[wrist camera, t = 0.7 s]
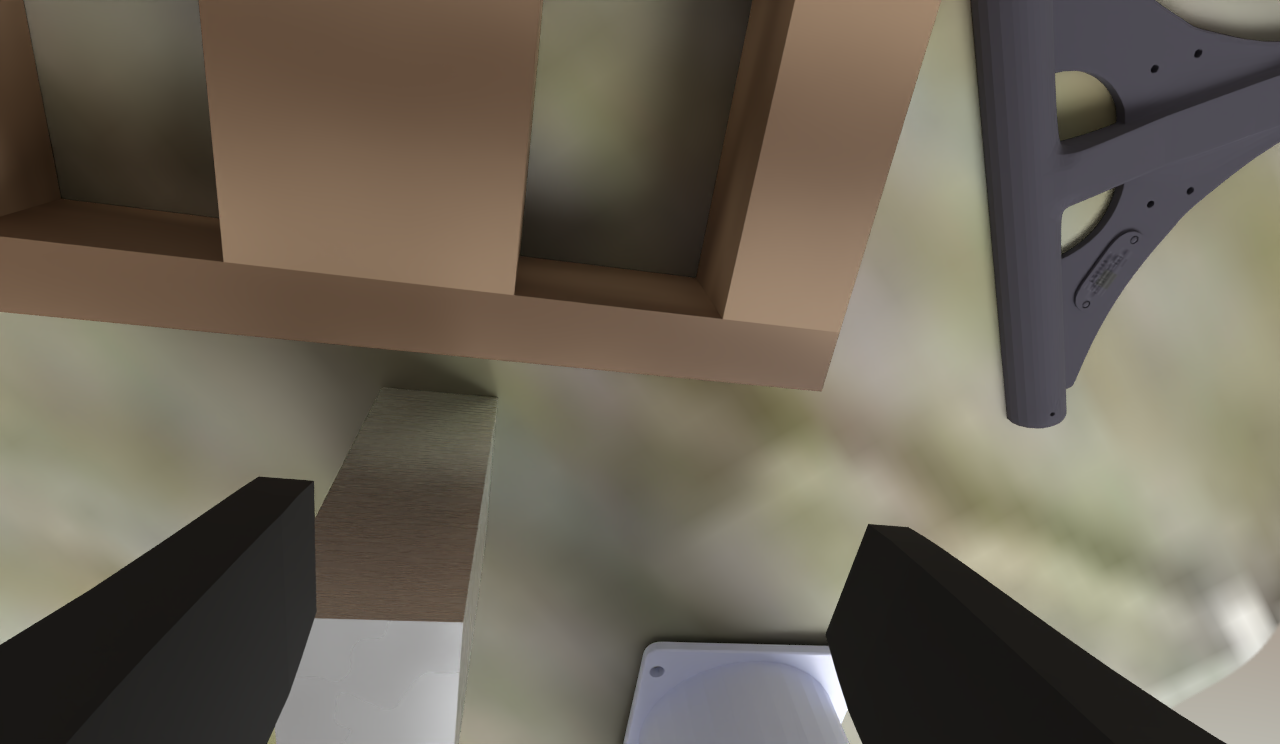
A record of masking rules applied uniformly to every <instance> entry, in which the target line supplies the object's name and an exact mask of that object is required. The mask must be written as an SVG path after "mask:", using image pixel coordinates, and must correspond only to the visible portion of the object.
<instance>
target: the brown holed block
mask: <svg viewBox="0 0 1280 744" xmlns="http://www.w3.org/2000/svg"><path fill="white" fill-rule="evenodd" d="M198 1H199V11H200V21H201V32H202V42H203V52H204V63H205V73H206V84H207V94H208V104H209V115H210V125H211V135H212V146H213V156H214V167H215V177H216V187H217V198H218V208H219V218H212V217H204V216H196V215H188V214H180V213H172V212H164V211H156V210H148V209H140V208H132V207H124V206H116V205H108V204H100V203H92V202H84V201H76V200H68V199H61V195H60V190H59V185H58V180H57V174H56V169H55V164H54V159H53V153H52V148H51V143H50V138H49V132H48V127H47V122H46V117H45V112H44V106H43V101H42V96H41V91H40V85H39V80H38V75H37V70H36V64H35V59H34V54H33V49H32V44H31V38H30V33H29V28H28V23H27V17H26V12H25V7H24V2H23V0H0V312H8V313H18V314H29V315H39V316H49V317H60V318H70V319H80V320H90V321H101V322H111V323H121V324H132V325H142V326H152V327H163V328H173V329H183V330H193V331H204V332H214V333H224V334H235V335H245V336H255V337H266V338H276V339H286V340H296V341H307V342H317V343H327V344H338V345H348V346H358V347H369V348H379V349H389V350H399V351H410V352H420V353H430V354H441V355H451V356H461V357H472V358H482V359H492V360H502V361H513V362H523V363H533V364H544V365H554V366H564V367H575V368H585V369H595V370H605V371H616V372H626V373H636V374H647V375H657V376H667V377H678V378H688V379H698V380H708V381H719V382H729V383H739V384H750V385H760V386H770V387H781V388H791V389H801V390H812V391H822V388H823V385H824V382H825V378H826V375H827V372H828V369H829V365H830V362H831V359H832V356H833V352H834V349H835V346H836V342H837V339H838V336H839V333H840V329H841V326H842V323H843V320H844V316H845V313H846V310H847V306H848V303H849V300H850V297H851V293H852V290H853V287H854V284H855V280H856V277H857V274H858V271H859V267H860V264H861V261H862V257H863V254H864V251H865V248H866V244H867V241H868V238H869V235H870V231H871V228H872V225H873V221H874V218H875V215H876V212H877V208H878V205H879V202H880V199H881V195H882V192H883V189H884V186H885V182H886V179H887V176H888V172H889V169H890V166H891V163H892V159H893V156H894V153H895V150H896V146H897V143H898V140H899V136H900V133H901V130H902V127H903V123H904V120H905V117H906V114H907V110H908V107H909V104H910V101H911V97H912V94H913V91H914V87H915V84H916V81H917V78H918V74H919V71H920V68H921V65H922V61H923V58H924V55H925V52H926V48H927V45H928V42H929V38H930V35H931V32H932V29H933V25H934V22H935V19H936V16H937V12H938V9H939V6H940V2H941V0H753V1H752V6H751V11H750V15H749V20H748V25H747V30H746V35H745V40H744V45H743V50H742V55H741V60H740V65H739V69H738V74H737V79H736V84H735V89H734V94H733V99H732V104H731V109H730V114H729V118H728V123H727V128H726V133H725V138H724V143H723V148H722V153H721V158H720V163H719V168H718V172H717V177H716V182H715V187H714V192H713V197H712V202H711V207H710V212H709V217H708V222H707V226H706V231H705V236H704V241H703V246H702V251H701V256H700V261H699V266H698V271H697V276H696V278H693V277H685V276H677V275H669V274H661V273H653V272H645V271H637V270H629V269H621V268H613V267H605V266H597V265H589V264H581V263H573V262H565V261H557V260H549V259H541V258H533V257H525V256H520V251H521V240H522V229H523V218H524V207H525V196H526V185H527V174H528V163H529V152H530V141H531V129H532V118H533V107H534V96H535V85H536V74H537V63H538V52H539V41H540V30H541V19H542V8H543V0H198Z"/></svg>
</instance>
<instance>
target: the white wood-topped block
mask: <svg viewBox="0 0 1280 744" xmlns="http://www.w3.org/2000/svg"><path fill="white" fill-rule="evenodd" d="M497 402H498V397H487V396H476V395H464V394H453V393H441V392H430V391H418V390H407V389H395V388H384V387H382V388H381V390H380V392H379V394H378V396H377V398H376V400H375V402H374V404H373V406H372V408H371V410H370V412H369V414H368V416H367V418H366V420H365V422H364V424H363V426H362V427H361V429H360V431H359V433H358V435H357V437H356V439H355V441H354V443H353V445H352V447H351V449H350V451H349V453H348V455H347V457H346V459H345V461H344V463H343V465H342V467H341V469H340V471H339V473H338V475H337V477H336V479H335V481H334V482H333V484H332V486H331V488H330V490H329V492H328V494H327V496H326V498H325V500H324V502H323V504H322V506H321V508H320V510H319V512H318V514H317V516H316V518H315V560H316V607H317V612H316V615H315V618H314V622H313V625H312V628H311V631H310V634H309V637H308V640H307V643H306V646H305V650H304V653H303V656H302V659H301V662H300V665H299V668H298V670H297V673H296V676H295V679H294V682H293V685H292V688H291V691H290V694H289V696H288V698H287V701H286V703H285V705H284V707H283V709H282V712H281V714H280V716H279V718H278V720H277V723H276V725H275V733H276V744H459V739H460V732H461V724H462V717H463V709H464V702H465V694H466V687H467V679H468V672H469V664H470V657H471V650H472V642H473V635H474V627H475V620H476V612H477V605H478V597H479V590H480V582H481V575H482V567H483V560H484V552H485V545H486V533H487V521H488V509H489V497H490V485H491V474H492V462H493V450H494V438H495V426H496V414H497Z"/></svg>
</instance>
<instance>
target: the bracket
mask: <svg viewBox="0 0 1280 744" xmlns="http://www.w3.org/2000/svg"><path fill="white" fill-rule="evenodd" d="M971 8H972V19H973V31H974V43H975V54H976V66H977V77H978V89H979V100H980V112H981V124H982V135H983V147H984V158H985V170H986V181H987V193H988V204H989V216H990V228H991V239H992V251H993V262H994V274H995V285H996V297H997V309H998V320H999V332H1000V343H1001V355H1002V366H1003V377H1004V388H1005V399H1006V410H1007V419H1009V420H1010V421H1011V422H1012V423H1014V424H1016V425H1019V426H1023V427H1027V428H1046V427H1051V426H1054V425H1056V424H1058V423H1060V422H1061V421H1062V420H1063V419H1064V418H1065V416H1066V389H1067V388H1070V387H1071V386H1072V385H1073V384H1074V382H1075V380H1076V377H1077V375H1078V373H1079V371H1080V368H1081V366H1082V364H1083V361H1084V359H1085V357H1086V355H1087V353H1088V350H1089V348H1090V346H1091V344H1092V342H1093V340H1094V338H1095V336H1096V334H1097V332H1098V330H1099V328H1100V327H1101V325H1102V323H1103V321H1104V320H1105V318H1106V316H1107V314H1108V313H1109V311H1110V309H1111V308H1112V306H1113V305H1114V303H1115V301H1116V300H1117V298H1118V297H1119V295H1120V294H1121V292H1122V291H1123V289H1124V288H1125V286H1126V285H1127V284H1128V282H1129V281H1130V279H1131V278H1132V277H1133V275H1134V274H1135V273H1136V271H1137V270H1138V269H1139V267H1140V266H1141V265H1142V264H1143V262H1144V261H1145V260H1146V259H1147V257H1148V256H1149V255H1150V254H1151V253H1152V251H1153V250H1154V249H1155V248H1156V247H1157V245H1158V244H1159V243H1160V242H1161V241H1162V240H1163V239H1164V237H1165V236H1166V235H1167V234H1168V233H1169V232H1170V231H1171V230H1172V228H1173V227H1174V226H1175V225H1176V224H1177V222H1178V221H1179V220H1180V219H1181V218H1182V217H1183V216H1184V215H1185V214H1186V213H1187V212H1188V211H1189V210H1190V209H1191V208H1192V207H1193V206H1194V205H1196V204H1197V203H1198V202H1199V201H1200V200H1202V199H1203V198H1204V197H1205V196H1206V195H1208V194H1209V193H1210V192H1211V191H1213V190H1214V189H1215V188H1216V187H1218V186H1219V185H1220V184H1221V183H1223V182H1224V181H1225V180H1226V179H1228V178H1229V177H1230V176H1231V175H1233V174H1234V173H1235V172H1237V171H1238V170H1239V169H1241V168H1242V167H1243V166H1245V165H1246V164H1247V163H1249V162H1250V161H1252V160H1253V159H1254V158H1256V157H1257V156H1259V155H1260V154H1262V153H1263V152H1265V151H1266V150H1268V149H1269V148H1271V147H1273V146H1274V145H1276V144H1277V143H1279V142H1280V41H1257V40H1250V39H1242V38H1237V37H1233V36H1229V35H1225V34H1221V33H1216V32H1212V31H1208V30H1204V29H1201V28H1197V27H1194V26H1192V25H1190V24H1189V23H1187V22H1186V21H1184V20H1183V19H1182V18H1180V17H1178V16H1177V15H1175V14H1174V13H1172V12H1171V11H1169V10H1168V9H1166V8H1165V7H1163V6H1162V5H1161V4H1159V3H1158V2H1157V1H1155V0H971ZM1062 71H1081V72H1085V73H1087V74H1090V75H1092V76H1094V77H1095V78H1097V79H1098V80H1099V81H1100V82H1101V83H1103V84H1104V86H1105V87H1106V88H1107V90H1108V91H1109V93H1110V95H1111V97H1112V99H1113V101H1114V104H1115V106H1116V123H1115V124H1112V125H1110V126H1107V127H1104V128H1101V129H1099V130H1096V131H1093V132H1090V133H1087V134H1084V135H1081V136H1077V137H1074V138H1070V139H1067V140H1063V141H1060V139H1059V133H1058V123H1057V109H1056V88H1055V73H1057V72H1062ZM1114 187H1116V188H1115V191H1114V194H1113V197H1112V200H1111V202H1110V204H1109V207H1108V209H1107V211H1106V212H1105V214H1104V216H1103V217H1102V219H1101V221H1100V222H1099V223H1098V225H1097V226H1096V227H1095V228H1094V230H1093V231H1092V232H1091V233H1090V234H1089V235H1088V236H1087V237H1086V238H1085V239H1084V240H1082V241H1081V242H1080V243H1079V244H1077V245H1076V246H1075V247H1073V248H1071V249H1070V250H1068V251H1067V252H1065V253H1064V254H1062V255H1061V219H1062V214H1063V211H1064V210H1065V209H1066V208H1068V207H1069V206H1071V205H1074V204H1076V203H1079V202H1081V201H1084V200H1086V199H1088V198H1091V197H1093V196H1096V195H1098V194H1100V193H1103V192H1105V191H1107V190H1110V189H1112V188H1114Z"/></svg>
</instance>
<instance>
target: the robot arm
mask: <svg viewBox="0 0 1280 744" xmlns="http://www.w3.org/2000/svg"><path fill="white" fill-rule="evenodd" d="M316 612H317V607H316V560H315V513H314V481H308V480H295V479H282V478H269V477H258V478H256V479H254V480H253V481H251V482H250V483H248V484H247V485H245V486H244V487H242V488H241V489H239V490H238V491H236V492H235V493H233V494H232V495H230V496H229V497H227V498H226V499H224V500H223V501H221V502H220V503H219V504H217V505H216V506H214V507H213V508H211V509H210V510H208V511H207V512H205V513H204V514H203V515H201V516H200V517H198V518H197V519H195V520H194V521H192V522H191V523H189V524H188V525H187V526H185V527H184V528H182V529H181V530H179V531H178V532H176V533H175V534H173V535H172V536H170V537H169V538H168V539H166V540H165V541H163V542H162V543H160V544H159V545H157V546H155V547H154V548H152V549H151V550H149V551H148V552H146V553H145V554H143V555H142V556H140V557H139V558H137V559H136V560H134V561H133V562H131V563H130V564H128V565H127V566H125V567H124V568H122V569H121V570H119V571H118V572H116V573H115V574H113V575H112V576H110V577H109V578H107V579H106V580H104V581H103V582H101V583H100V584H98V585H97V586H95V587H94V588H92V589H91V590H89V591H87V592H86V593H84V594H83V595H81V596H79V597H78V598H76V599H74V600H73V601H71V602H70V603H68V604H66V605H65V606H63V607H61V608H60V609H58V610H56V611H55V612H53V613H52V614H50V615H48V616H47V617H45V618H43V619H42V620H40V621H39V622H37V623H35V624H34V625H32V626H30V627H29V628H27V629H25V630H24V631H22V632H21V633H19V634H17V635H16V636H14V637H12V638H11V639H9V640H7V641H6V642H4V643H3V644H1V645H0V744H267V742H268V740H269V738H270V736H271V734H272V731H273V729H274V727H275V725H276V723H277V720H278V718H279V716H280V714H281V712H282V709H283V707H284V705H285V703H286V701H287V698H288V696H289V694H290V691H291V688H292V685H293V682H294V679H295V676H296V673H297V670H298V668H299V665H300V662H301V659H302V656H303V653H304V650H305V646H306V643H307V640H308V637H309V634H310V631H311V628H312V625H313V622H314V618H315V615H316ZM826 638H827V642H828V645H829V646H812V645H772V644H732V643H692V642H655V643H652V644H650V645H649V646H648V647H647V648H646V649H645V651H644V653H643V658H642V662H641V666H640V671H639V675H638V680H637V684H636V689H635V693H634V698H633V702H632V707H631V711H630V716H629V720H628V725H627V729H626V734H625V738H624V742H623V744H850V743H849V741H848V739H847V736H846V734H845V732H844V730H843V727H842V725H841V723H842V721H843V719H844V716H845V714H846V711H847V709H848V711H849V713H850V716H851V718H852V720H853V723H854V725H855V727H856V730H857V732H858V734H859V737H860V739H861V741H862V744H1226V743H1224V742H1223V741H1221V740H1219V739H1218V738H1216V737H1214V736H1213V735H1211V734H1210V733H1208V732H1207V731H1205V730H1203V729H1202V728H1200V727H1199V726H1197V725H1195V724H1194V723H1192V722H1191V721H1189V720H1188V719H1186V718H1184V717H1183V716H1181V715H1179V714H1178V713H1177V712H1175V711H1173V710H1172V709H1170V708H1169V707H1167V706H1166V705H1165V704H1163V703H1162V702H1160V701H1159V700H1157V699H1156V698H1154V697H1153V696H1151V695H1150V694H1148V693H1147V692H1145V691H1144V690H1142V689H1141V688H1139V687H1138V686H1136V685H1135V684H1133V683H1132V682H1130V681H1129V680H1127V679H1126V678H1124V677H1123V676H1121V675H1120V674H1118V673H1117V672H1115V671H1114V670H1112V669H1111V668H1109V667H1108V666H1106V665H1105V664H1103V663H1102V662H1101V661H1099V660H1098V659H1096V658H1095V657H1093V656H1092V655H1090V654H1089V653H1088V652H1086V651H1085V650H1083V649H1082V648H1080V647H1079V646H1078V645H1076V644H1075V643H1073V642H1072V641H1070V640H1069V639H1068V638H1066V637H1065V636H1063V635H1062V634H1061V633H1059V632H1058V631H1056V630H1055V629H1054V628H1052V627H1051V626H1049V625H1048V624H1047V623H1045V622H1044V621H1042V620H1041V619H1040V618H1038V617H1037V616H1036V615H1034V614H1033V613H1031V612H1030V611H1029V610H1027V609H1026V608H1024V607H1023V606H1022V605H1020V604H1019V603H1018V602H1016V601H1015V600H1013V599H1012V598H1011V597H1009V596H1008V595H1007V594H1005V593H1004V592H1002V591H1001V590H1000V589H998V588H997V587H995V586H994V585H993V584H991V583H990V582H989V581H987V580H986V579H984V578H983V577H982V576H980V575H979V574H978V573H976V572H975V571H973V570H972V569H971V568H969V567H968V566H966V565H965V564H964V563H962V562H961V561H959V560H958V559H956V558H955V557H954V556H952V555H951V554H949V553H948V552H946V551H945V550H943V549H942V548H940V547H939V546H938V545H936V544H935V543H933V542H931V541H930V540H928V539H927V538H925V537H924V536H922V535H920V534H919V533H917V532H915V531H914V530H912V529H910V528H909V527H898V526H886V525H873V524H868V526H867V529H866V531H865V534H864V537H863V539H862V542H861V544H860V547H859V549H858V552H857V555H856V557H855V560H854V562H853V565H852V567H851V570H850V573H849V575H848V578H847V580H846V583H845V586H844V588H843V591H842V593H841V596H840V598H839V601H838V604H837V606H836V609H835V611H834V614H833V616H832V619H831V622H830V624H829V627H828V629H827V632H826ZM656 666H659V667H656ZM653 667H656V668H653Z"/></svg>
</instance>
